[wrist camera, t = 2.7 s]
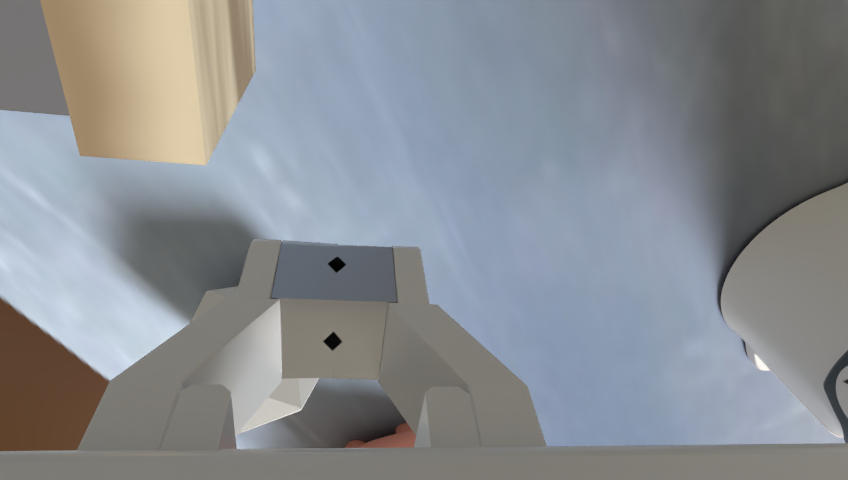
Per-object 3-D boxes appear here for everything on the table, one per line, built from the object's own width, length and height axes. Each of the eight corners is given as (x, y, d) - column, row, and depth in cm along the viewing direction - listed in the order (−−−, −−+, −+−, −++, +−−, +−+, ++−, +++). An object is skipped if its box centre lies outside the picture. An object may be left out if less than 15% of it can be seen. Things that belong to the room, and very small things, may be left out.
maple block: (249, -69, 23) (184, -26, 15) (255, 70, 27) (205, 165, 18) (150, -82, 23) (28, -46, 14) (170, 61, 26) (79, 155, 18)
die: (190, 242, 33) (110, 406, 29) (304, 256, 29) (228, 449, 25) (274, 294, 40) (218, 432, 36) (376, 311, 36) (324, 469, 32)
